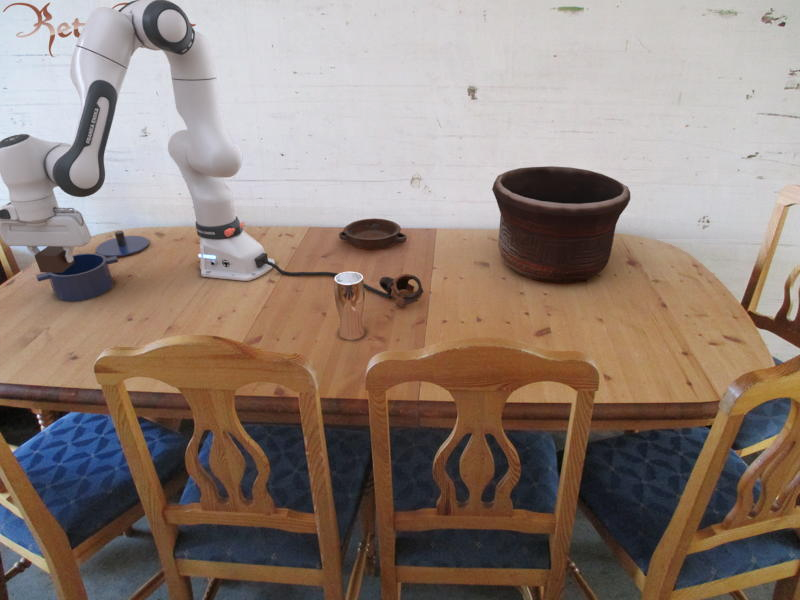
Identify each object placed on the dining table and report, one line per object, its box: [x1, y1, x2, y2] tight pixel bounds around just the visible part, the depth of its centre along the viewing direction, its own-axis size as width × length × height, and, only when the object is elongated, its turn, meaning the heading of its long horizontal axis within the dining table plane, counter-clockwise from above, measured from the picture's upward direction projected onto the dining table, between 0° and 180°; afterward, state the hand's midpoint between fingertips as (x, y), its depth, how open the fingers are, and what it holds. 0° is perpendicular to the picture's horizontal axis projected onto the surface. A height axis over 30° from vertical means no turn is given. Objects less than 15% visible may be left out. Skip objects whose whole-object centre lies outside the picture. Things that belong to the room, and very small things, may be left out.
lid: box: [95, 230, 150, 258], centre depth 183 cm, size 16×16×6 cm
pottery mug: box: [378, 273, 424, 309], centre depth 151 cm, size 12×10×8 cm
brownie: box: [34, 246, 75, 273], centre depth 140 cm, size 6×6×4 cm
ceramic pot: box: [491, 165, 631, 284], centre depth 163 cm, size 37×37×25 cm
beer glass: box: [333, 271, 366, 341], centre depth 134 cm, size 7×7×15 cm
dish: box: [338, 217, 407, 250], centre depth 185 cm, size 18×22×5 cm
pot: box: [35, 252, 119, 302], centre depth 158 cm, size 15×20×8 cm
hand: (55, 261), depth 140 cm, fingers closed on brownie, 5 cm apart
